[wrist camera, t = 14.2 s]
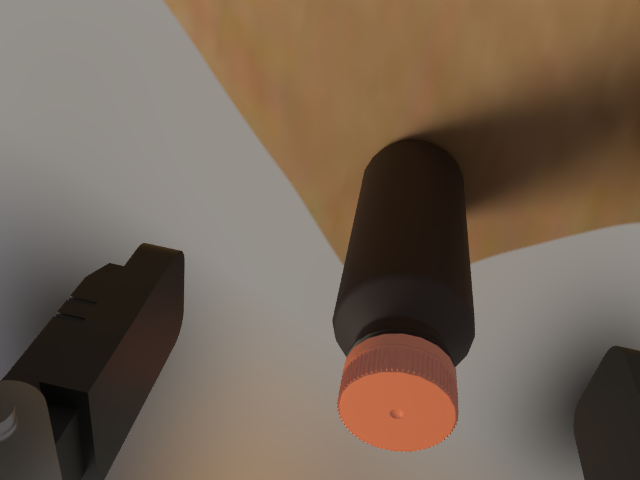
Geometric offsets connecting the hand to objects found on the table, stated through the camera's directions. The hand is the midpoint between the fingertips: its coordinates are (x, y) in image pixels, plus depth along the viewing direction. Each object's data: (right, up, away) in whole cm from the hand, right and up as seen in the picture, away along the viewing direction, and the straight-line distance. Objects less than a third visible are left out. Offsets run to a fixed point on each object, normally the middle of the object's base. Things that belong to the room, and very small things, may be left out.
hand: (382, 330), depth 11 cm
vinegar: (+5, +6, +30) cm, 31 cm away
